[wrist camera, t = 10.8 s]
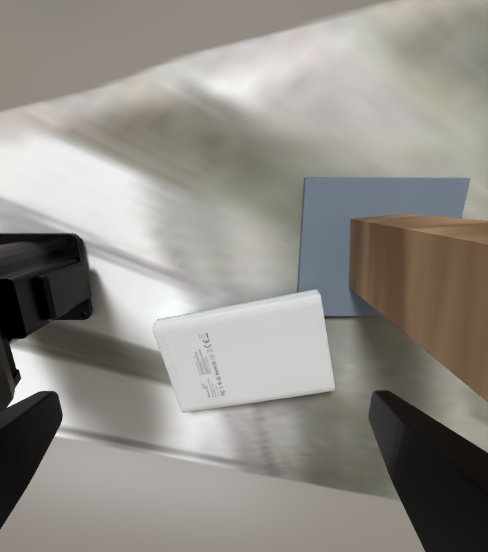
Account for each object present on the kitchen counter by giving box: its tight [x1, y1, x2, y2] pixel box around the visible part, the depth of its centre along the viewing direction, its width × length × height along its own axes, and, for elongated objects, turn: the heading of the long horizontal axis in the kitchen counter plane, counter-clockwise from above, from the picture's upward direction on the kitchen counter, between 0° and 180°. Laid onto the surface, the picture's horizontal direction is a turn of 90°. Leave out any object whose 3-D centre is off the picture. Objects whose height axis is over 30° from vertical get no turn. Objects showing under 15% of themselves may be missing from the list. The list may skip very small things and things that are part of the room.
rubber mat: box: [297, 178, 470, 316], centre depth 19 cm, size 11×10×1 cm
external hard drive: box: [153, 289, 335, 413], centre depth 21 cm, size 2×8×12 cm
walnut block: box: [349, 214, 488, 402], centre depth 12 cm, size 4×5×14 cm
